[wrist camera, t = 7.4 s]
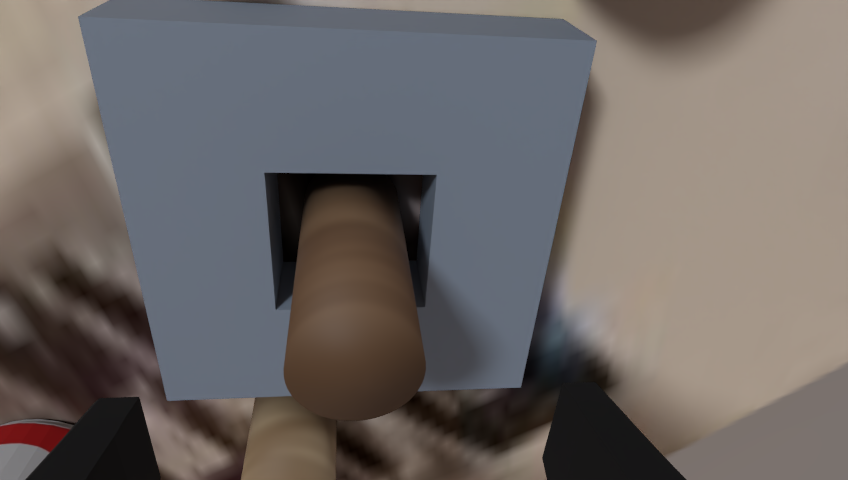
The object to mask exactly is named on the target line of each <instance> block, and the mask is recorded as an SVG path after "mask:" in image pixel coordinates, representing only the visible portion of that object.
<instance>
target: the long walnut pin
mask: <svg viewBox="0 0 848 480" xmlns="http://www.w3.org/2000/svg"><path fill="white" fill-rule="evenodd" d="M283 370H284V380H285V384H286V387H287V389H288V391H289V392H290V394H291V395H292V397H293V398H294V399H295V400H296V401H297V402H298V403H299V404H300V405H301V406H303V407H304V408H306V409H307V410H309V411H311V412H313V413H315V414H317V415H320V416H323V417H326V418H330V419H335V420H343V421H359V420H367V419H372V418H376V417H380V416H383V415H385V414H388V413H390V412H392V411H394V410H396V409H398V408H400V407H401V406H403V405H404V404H405V403H407V402H408V401H409V400H410V399H411V398H412V397H413V396H414V395H415V394H416V392H417V391H418V390H419V388H420V386H421V384H422V383H423V380H424V377H425V372H426V360H425V354H424V348H423V343H422V337H421V331H420V325H419V319H418V313H417V307H416V301H415V295H414V289H413V283H412V278H411V272H410V266H409V260H408V254H407V248H406V242H405V236H404V230H403V224H402V219H401V213H400V207H399V201H398V195H397V191H396V189H395V186H394V184H393V183H392V181H391V180H390V178H389V177H388V176H387V175H386V174H336V173H317V174H316V175H315V176H314V178H313V179H312V180H311V182H310V183H309V185H308V187H307V189H306V193H305V198H304V205H303V213H302V222H301V230H300V238H299V246H298V254H297V263H296V271H295V279H294V287H293V295H292V304H291V312H290V320H289V328H288V336H287V344H286V353H285V361H284V369H283Z"/></svg>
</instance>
